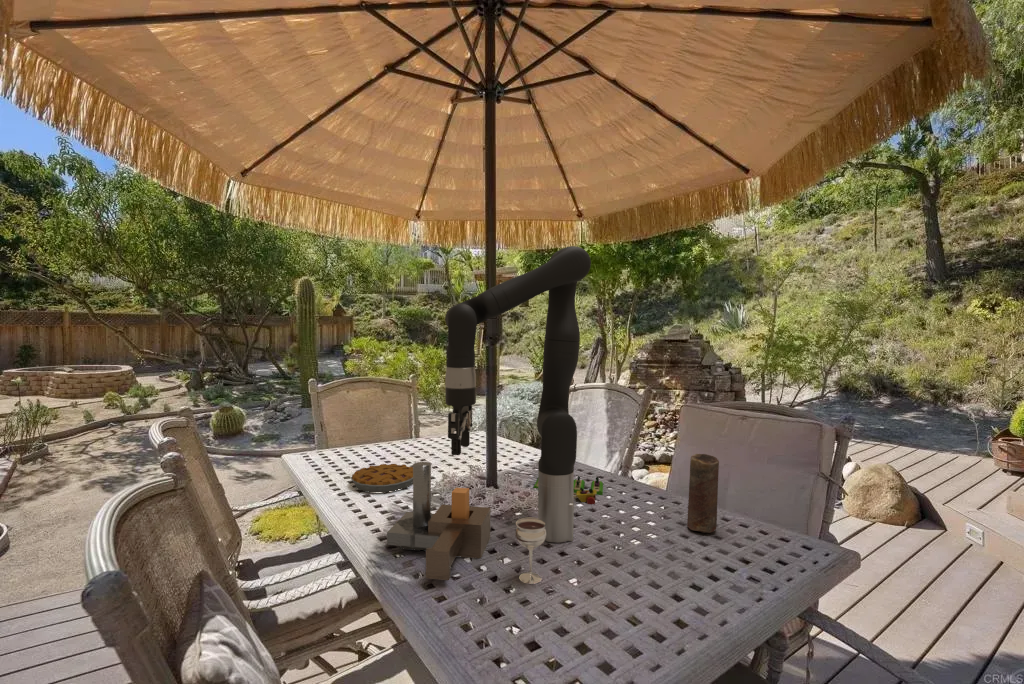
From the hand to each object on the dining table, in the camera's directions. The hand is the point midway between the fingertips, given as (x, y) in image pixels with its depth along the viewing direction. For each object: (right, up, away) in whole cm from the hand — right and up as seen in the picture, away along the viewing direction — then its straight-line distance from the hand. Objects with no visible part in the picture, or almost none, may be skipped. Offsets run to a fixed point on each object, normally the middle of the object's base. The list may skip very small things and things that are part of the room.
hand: (460, 450), depth 118 cm
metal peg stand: (-10, -24, +2) cm, 26 cm away
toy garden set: (+31, -24, +40) cm, 56 cm away
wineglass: (+17, -25, -14) cm, 33 cm away
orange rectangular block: (0, -24, +1) cm, 24 cm away
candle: (+64, -24, +11) cm, 69 cm away
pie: (-31, -23, +47) cm, 61 cm away
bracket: (-1, -24, -6) cm, 25 cm away
